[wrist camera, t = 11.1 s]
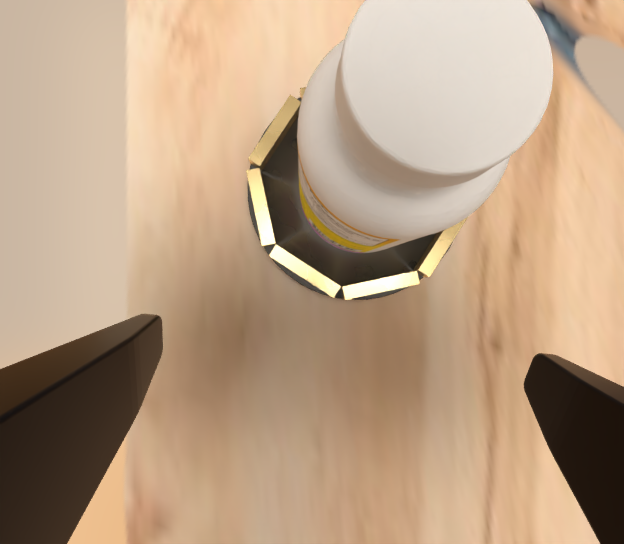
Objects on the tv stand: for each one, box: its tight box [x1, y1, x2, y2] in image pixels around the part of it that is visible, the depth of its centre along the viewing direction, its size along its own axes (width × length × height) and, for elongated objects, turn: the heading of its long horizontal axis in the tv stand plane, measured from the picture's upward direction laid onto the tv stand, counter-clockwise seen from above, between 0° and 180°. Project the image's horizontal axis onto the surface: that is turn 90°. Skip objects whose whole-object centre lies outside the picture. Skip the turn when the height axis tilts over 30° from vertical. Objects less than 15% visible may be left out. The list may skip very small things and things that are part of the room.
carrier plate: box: [246, 87, 468, 300], centre depth 21 cm, size 12×12×2 cm
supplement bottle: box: [297, 0, 553, 253], centre depth 15 cm, size 7×7×13 cm
